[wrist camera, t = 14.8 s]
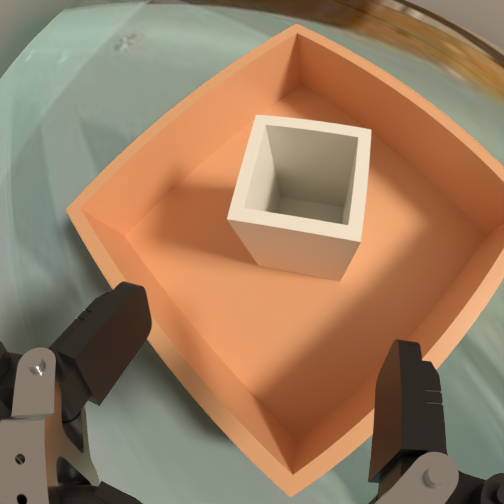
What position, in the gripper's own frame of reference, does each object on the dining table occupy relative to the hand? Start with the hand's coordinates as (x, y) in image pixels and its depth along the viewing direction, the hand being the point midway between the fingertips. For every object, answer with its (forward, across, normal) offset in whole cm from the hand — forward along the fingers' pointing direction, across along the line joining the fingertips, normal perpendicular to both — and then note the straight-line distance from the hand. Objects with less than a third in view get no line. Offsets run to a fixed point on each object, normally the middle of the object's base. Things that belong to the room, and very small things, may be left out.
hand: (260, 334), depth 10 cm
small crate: (+13, 0, +3) cm, 14 cm away
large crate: (+14, 0, +4) cm, 14 cm away
